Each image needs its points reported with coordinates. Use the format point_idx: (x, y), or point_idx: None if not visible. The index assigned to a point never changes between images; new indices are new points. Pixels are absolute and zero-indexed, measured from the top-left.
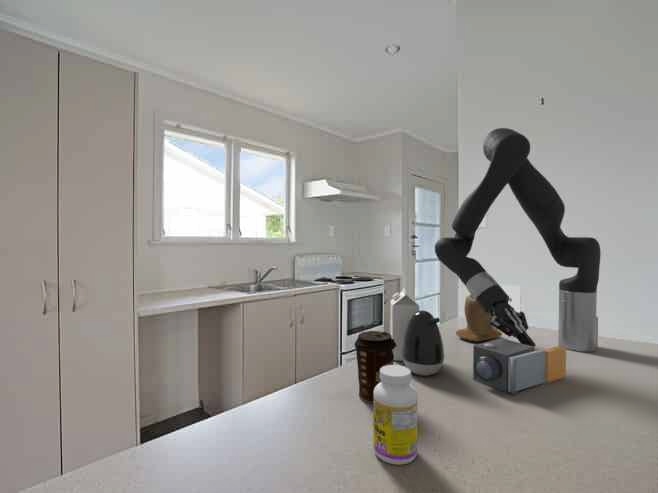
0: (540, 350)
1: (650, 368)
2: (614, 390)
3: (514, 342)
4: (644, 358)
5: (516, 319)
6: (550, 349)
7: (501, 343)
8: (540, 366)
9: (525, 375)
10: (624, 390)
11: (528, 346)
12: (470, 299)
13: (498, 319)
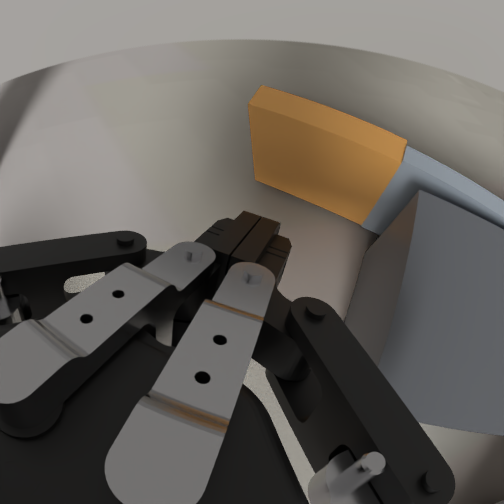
0: (426, 165)
1: (72, 61)
2: (274, 79)
3: (415, 301)
4: (18, 83)
5: (147, 312)
6: (352, 131)
7: (481, 359)
8: None
9: None
10: (258, 66)
11: (436, 215)
12: None
13: (439, 470)
